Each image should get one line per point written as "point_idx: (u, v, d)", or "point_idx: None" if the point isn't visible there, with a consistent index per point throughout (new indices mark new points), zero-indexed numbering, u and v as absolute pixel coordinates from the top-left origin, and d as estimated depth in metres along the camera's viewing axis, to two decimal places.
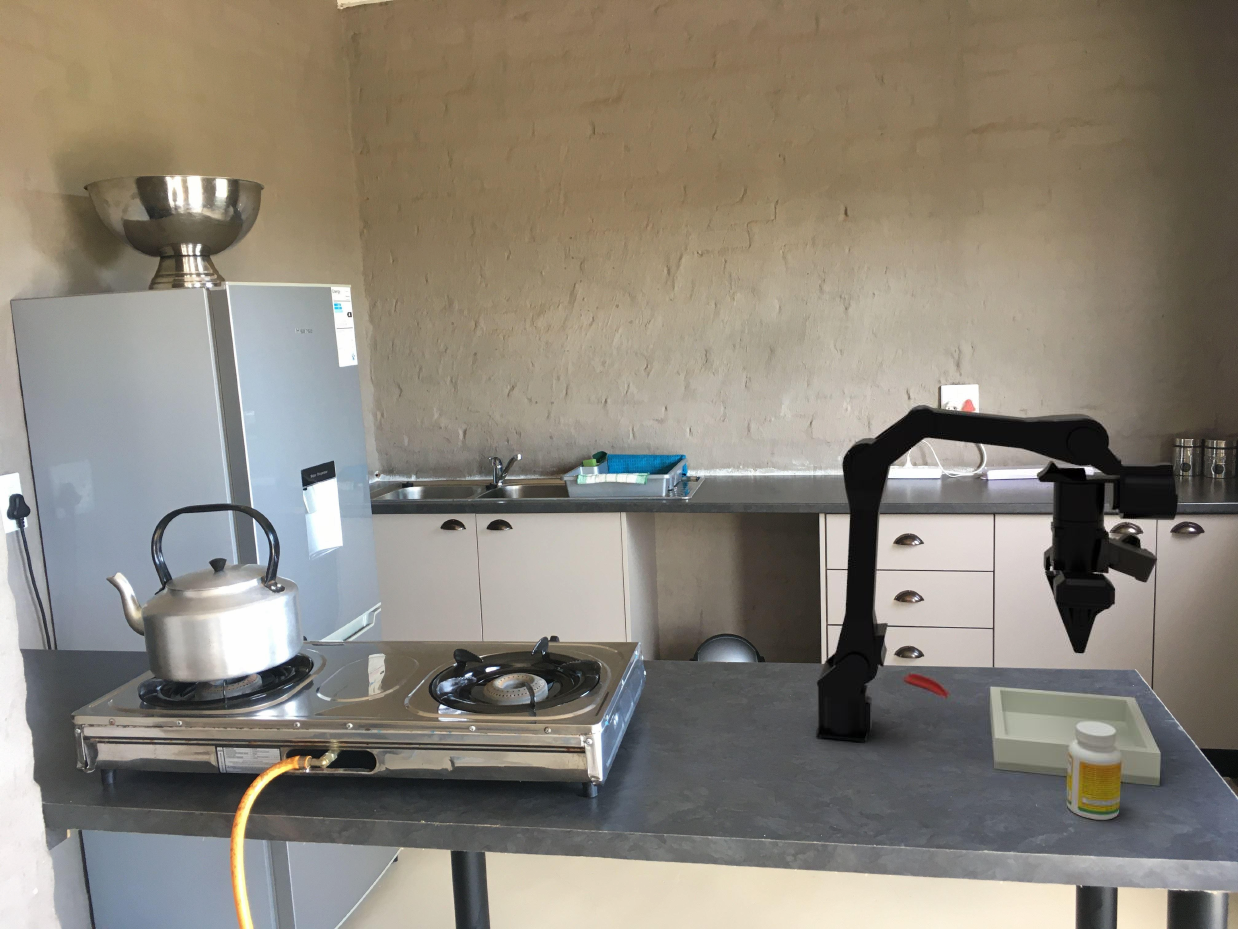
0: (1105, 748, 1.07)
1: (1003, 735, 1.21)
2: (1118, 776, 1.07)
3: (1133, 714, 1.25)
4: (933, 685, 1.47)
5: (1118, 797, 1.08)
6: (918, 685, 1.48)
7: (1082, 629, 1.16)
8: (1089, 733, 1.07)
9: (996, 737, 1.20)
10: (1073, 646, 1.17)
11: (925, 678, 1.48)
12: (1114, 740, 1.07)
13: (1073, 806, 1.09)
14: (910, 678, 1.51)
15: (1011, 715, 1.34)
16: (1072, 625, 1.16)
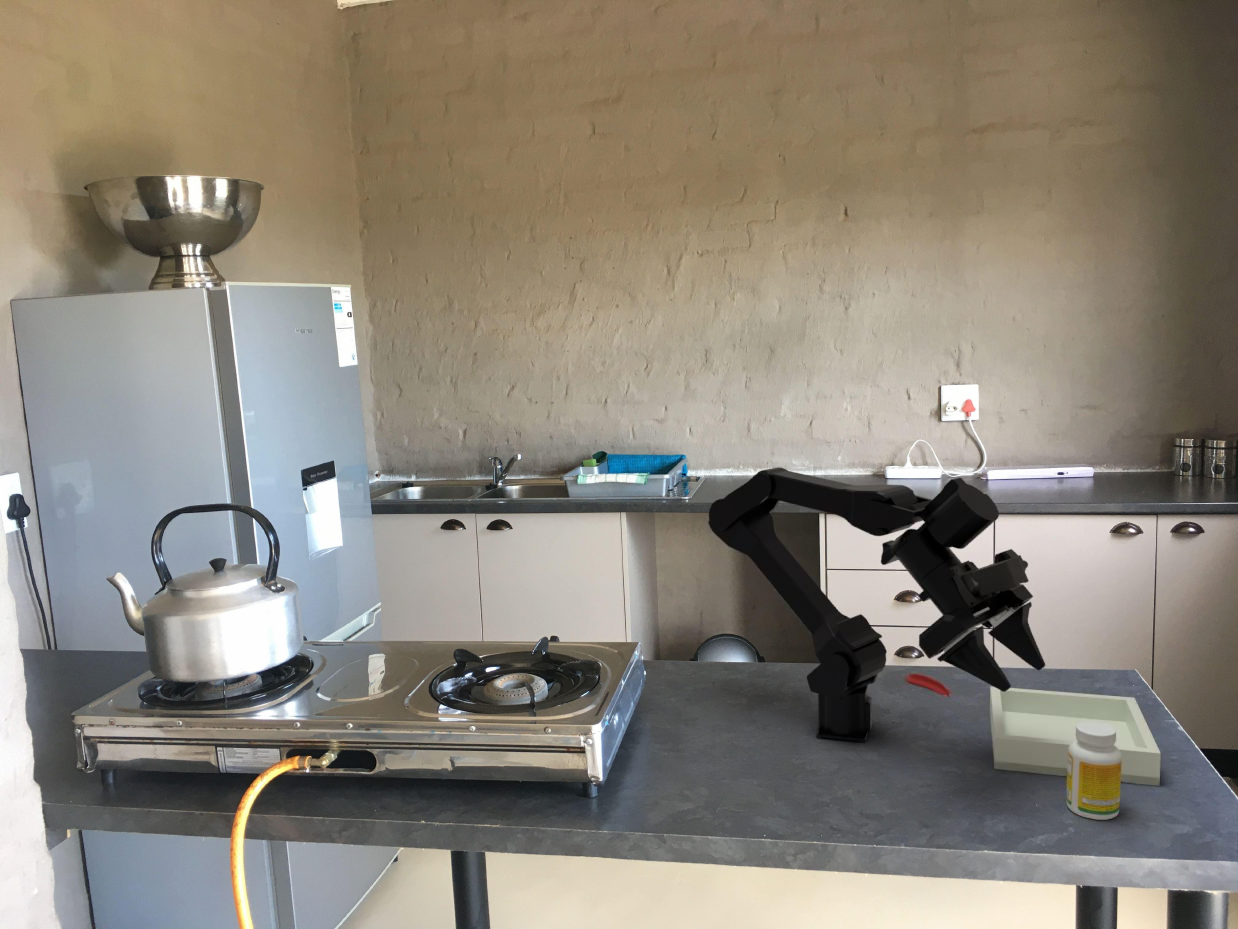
0: (1105, 748, 1.07)
1: (1003, 735, 1.21)
2: (1118, 776, 1.07)
3: (1133, 714, 1.25)
4: (935, 685, 1.47)
5: (1118, 797, 1.08)
6: (920, 685, 1.49)
7: (985, 666, 1.11)
8: (1089, 733, 1.07)
9: (996, 737, 1.20)
10: (996, 687, 1.11)
11: (927, 678, 1.49)
12: (1114, 740, 1.07)
13: (1073, 806, 1.09)
14: (911, 678, 1.51)
15: (1011, 715, 1.34)
16: (975, 669, 1.12)
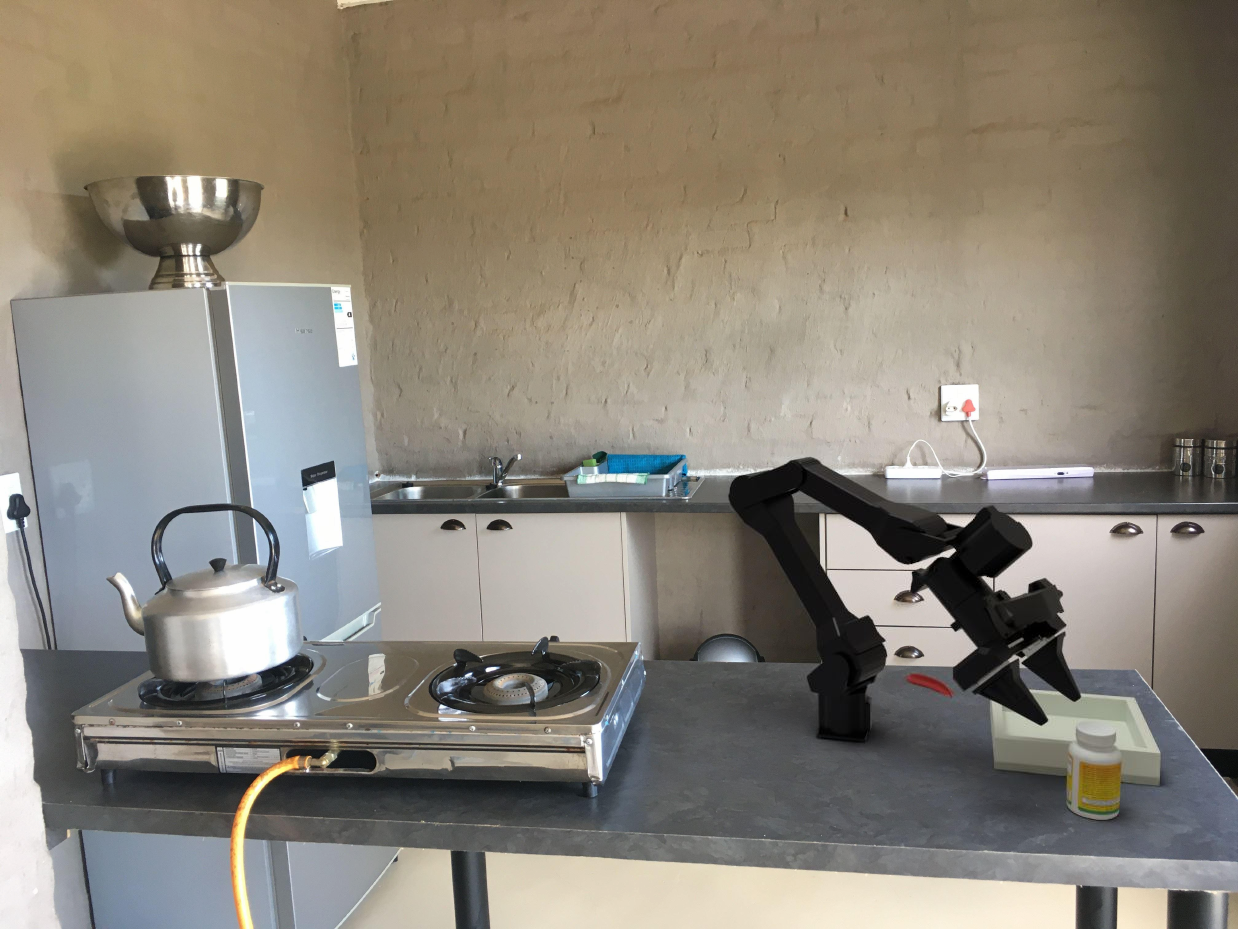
0: (1105, 748, 1.07)
1: (1003, 735, 1.21)
2: (1118, 776, 1.07)
3: (1133, 714, 1.25)
4: (937, 684, 1.47)
5: (1118, 797, 1.08)
6: (921, 685, 1.49)
7: (1021, 700, 1.08)
8: (1089, 733, 1.07)
9: (996, 737, 1.20)
10: (1033, 721, 1.08)
11: (928, 677, 1.49)
12: (1114, 740, 1.07)
13: (1073, 806, 1.09)
14: (912, 678, 1.51)
15: (1011, 715, 1.34)
16: (1010, 702, 1.09)
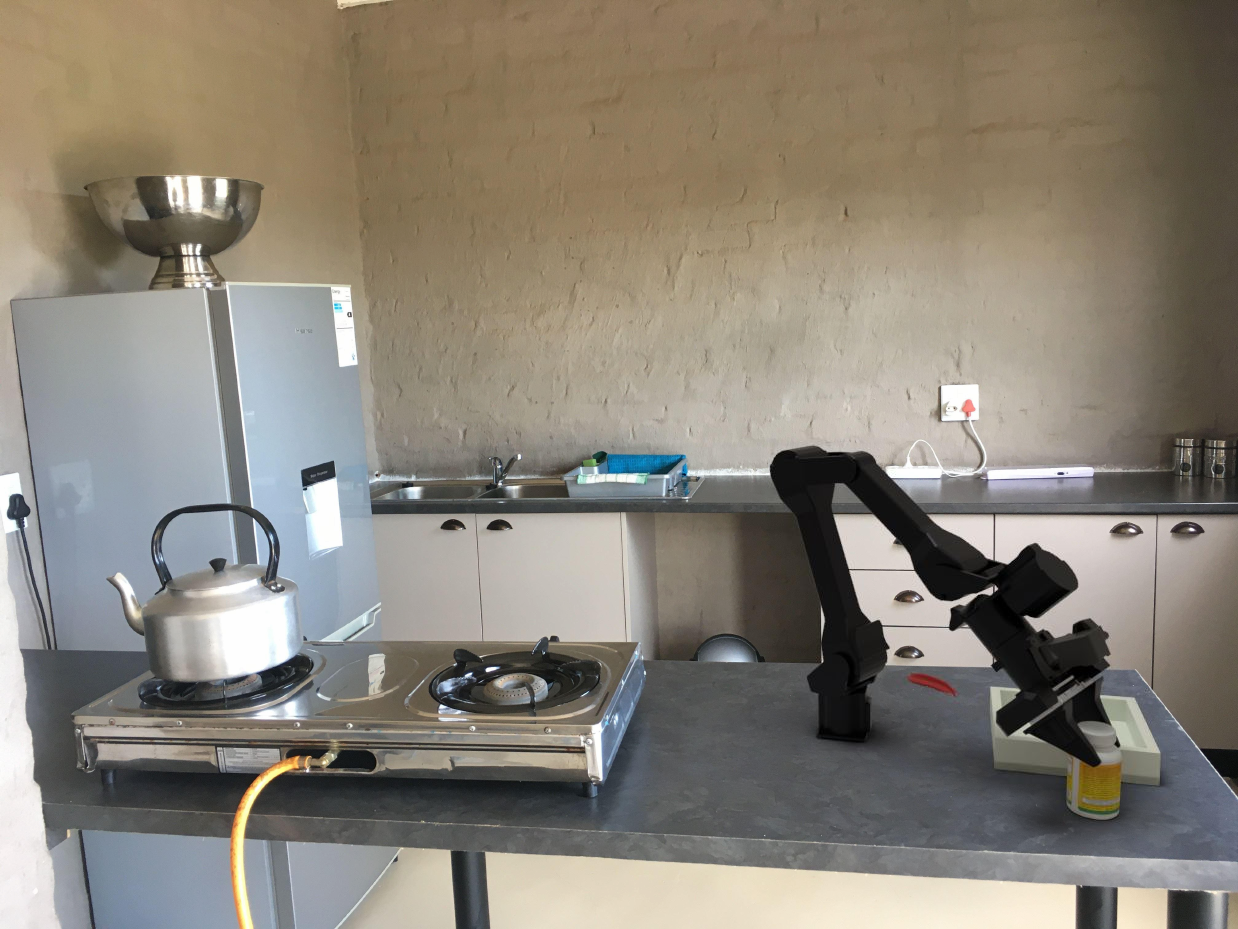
0: (1105, 748, 1.07)
1: (1003, 735, 1.21)
2: (1118, 776, 1.07)
3: (1133, 714, 1.25)
4: (939, 684, 1.48)
5: (1118, 797, 1.08)
6: (924, 684, 1.49)
7: (1074, 741, 1.06)
8: (1089, 733, 1.07)
9: (996, 737, 1.20)
10: (1085, 762, 1.06)
11: (931, 677, 1.49)
12: (1114, 740, 1.07)
13: (1073, 805, 1.09)
14: (914, 678, 1.51)
15: None
16: (1062, 743, 1.07)
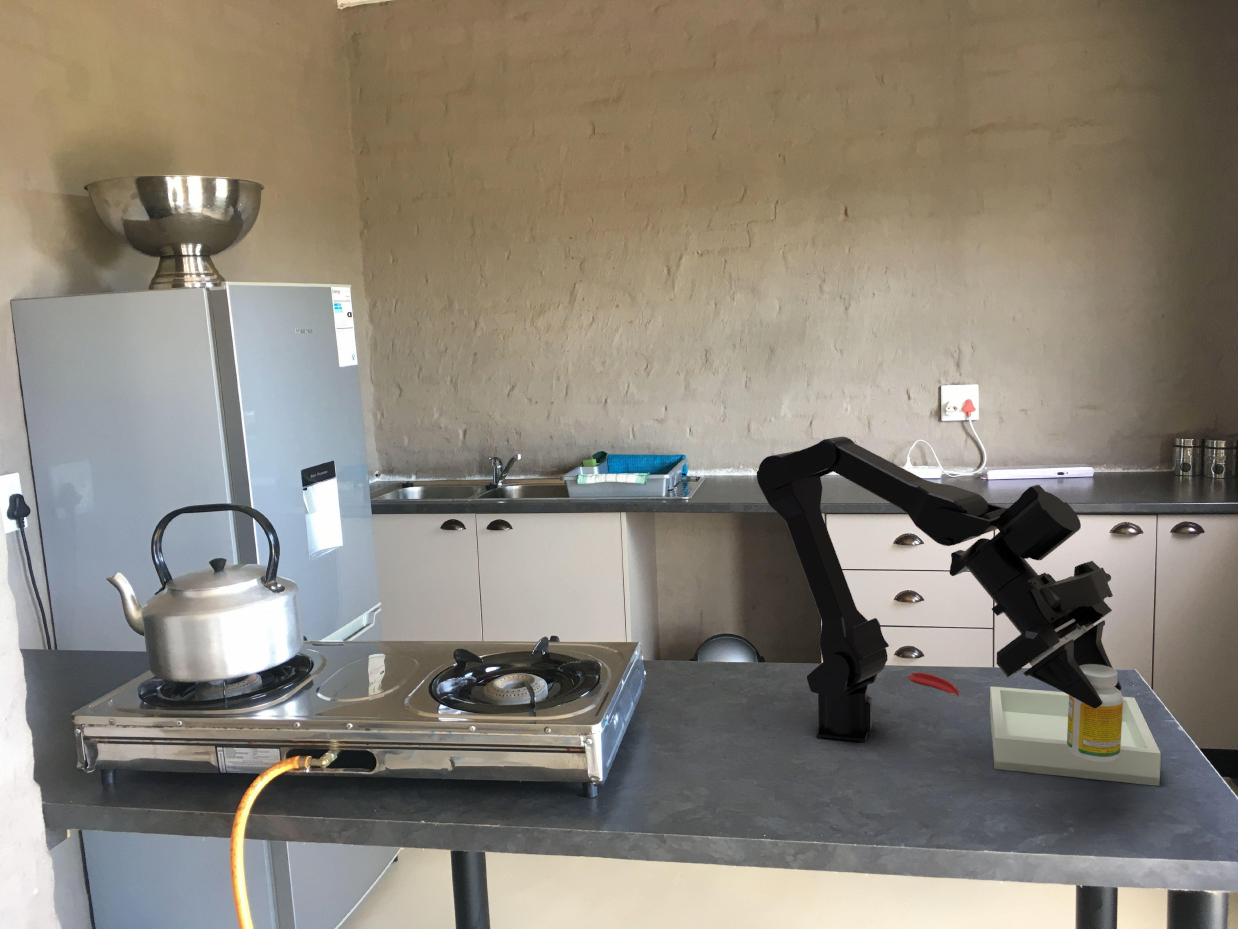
0: (1106, 690, 1.06)
1: (1003, 735, 1.21)
2: (1119, 718, 1.06)
3: (1133, 714, 1.25)
4: (942, 683, 1.48)
5: (1119, 739, 1.07)
6: (926, 684, 1.49)
7: (1075, 682, 1.06)
8: (1090, 675, 1.06)
9: (996, 737, 1.20)
10: (1086, 703, 1.06)
11: (933, 676, 1.49)
12: (1116, 682, 1.06)
13: (1074, 748, 1.08)
14: (916, 677, 1.51)
15: (1011, 715, 1.34)
16: (1063, 684, 1.06)
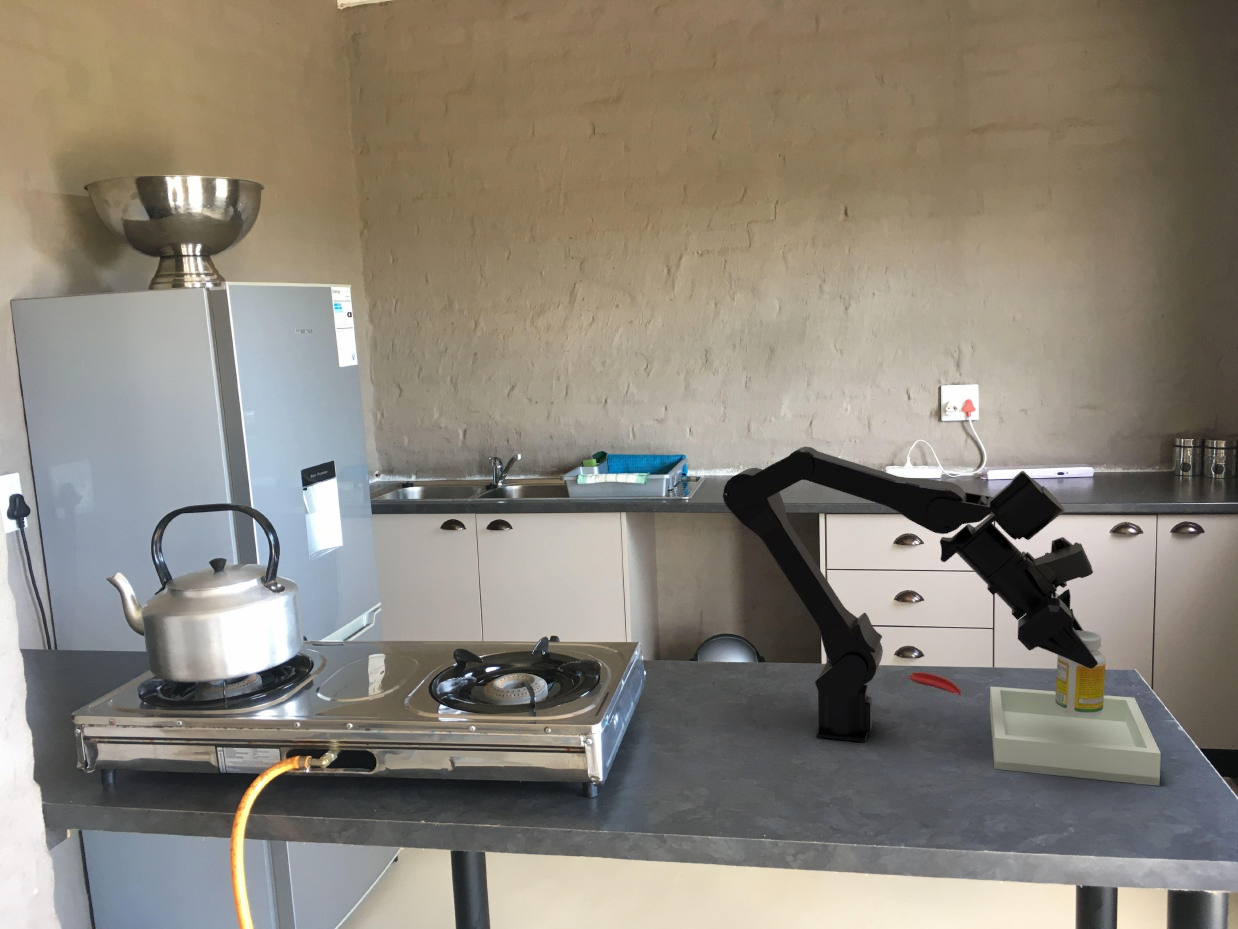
0: (1095, 651, 1.19)
1: (1003, 735, 1.21)
2: (1104, 675, 1.19)
3: (1133, 714, 1.25)
4: (943, 683, 1.48)
5: None
6: (928, 683, 1.49)
7: (1076, 647, 1.17)
8: (1083, 639, 1.18)
9: (996, 737, 1.20)
10: (1084, 665, 1.17)
11: (934, 676, 1.49)
12: (1100, 643, 1.19)
13: (1069, 708, 1.19)
14: (917, 677, 1.51)
15: (1011, 715, 1.34)
16: (1065, 650, 1.17)
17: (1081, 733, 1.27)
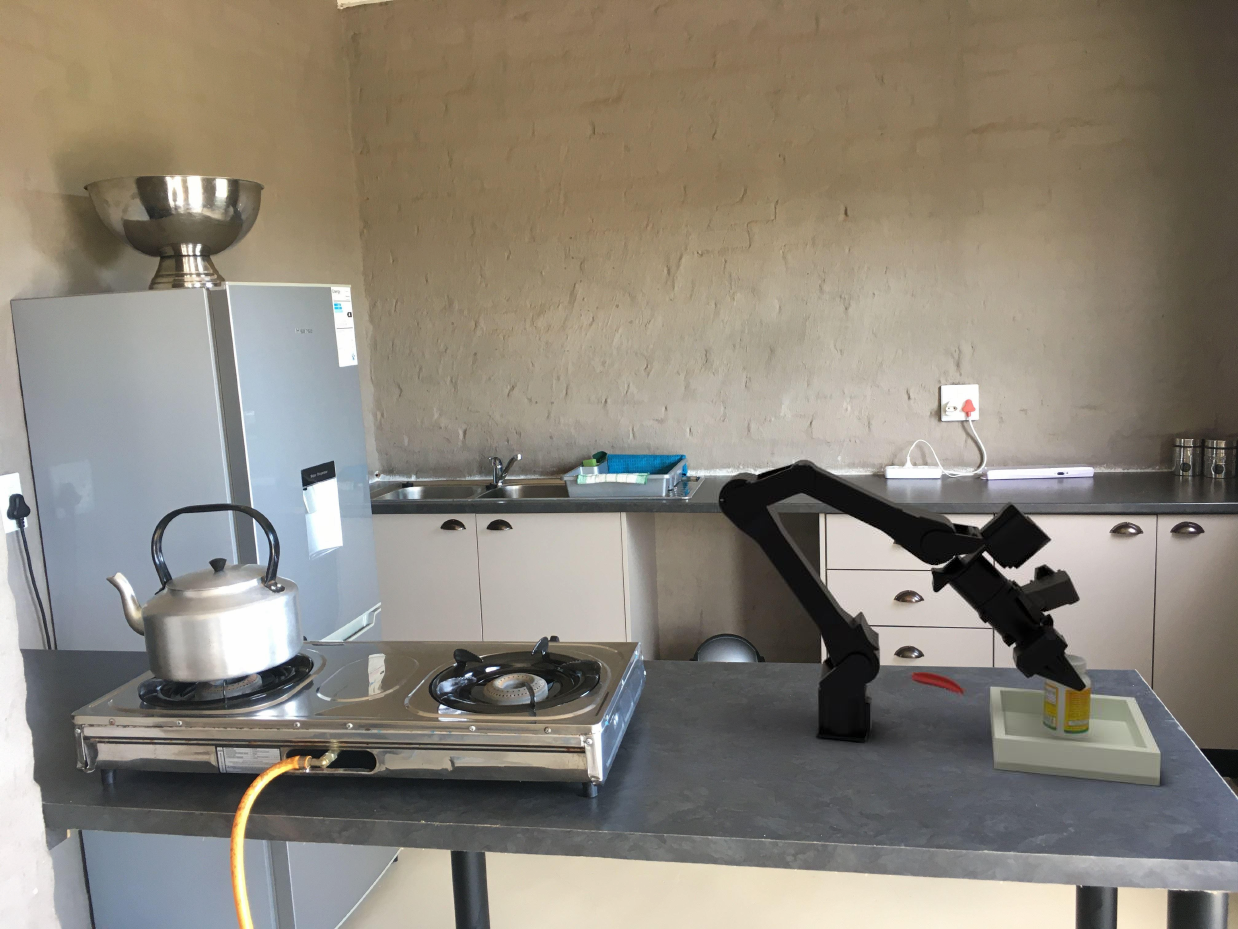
0: (1081, 674, 1.23)
1: (1003, 735, 1.21)
2: None
3: (1133, 714, 1.25)
4: (945, 682, 1.48)
5: None
6: (930, 683, 1.49)
7: (1066, 671, 1.21)
8: (1071, 664, 1.23)
9: (996, 737, 1.20)
10: (1074, 688, 1.22)
11: (936, 676, 1.49)
12: None
13: (1059, 730, 1.24)
14: (918, 677, 1.51)
15: (1011, 715, 1.34)
16: (1056, 675, 1.21)
17: None
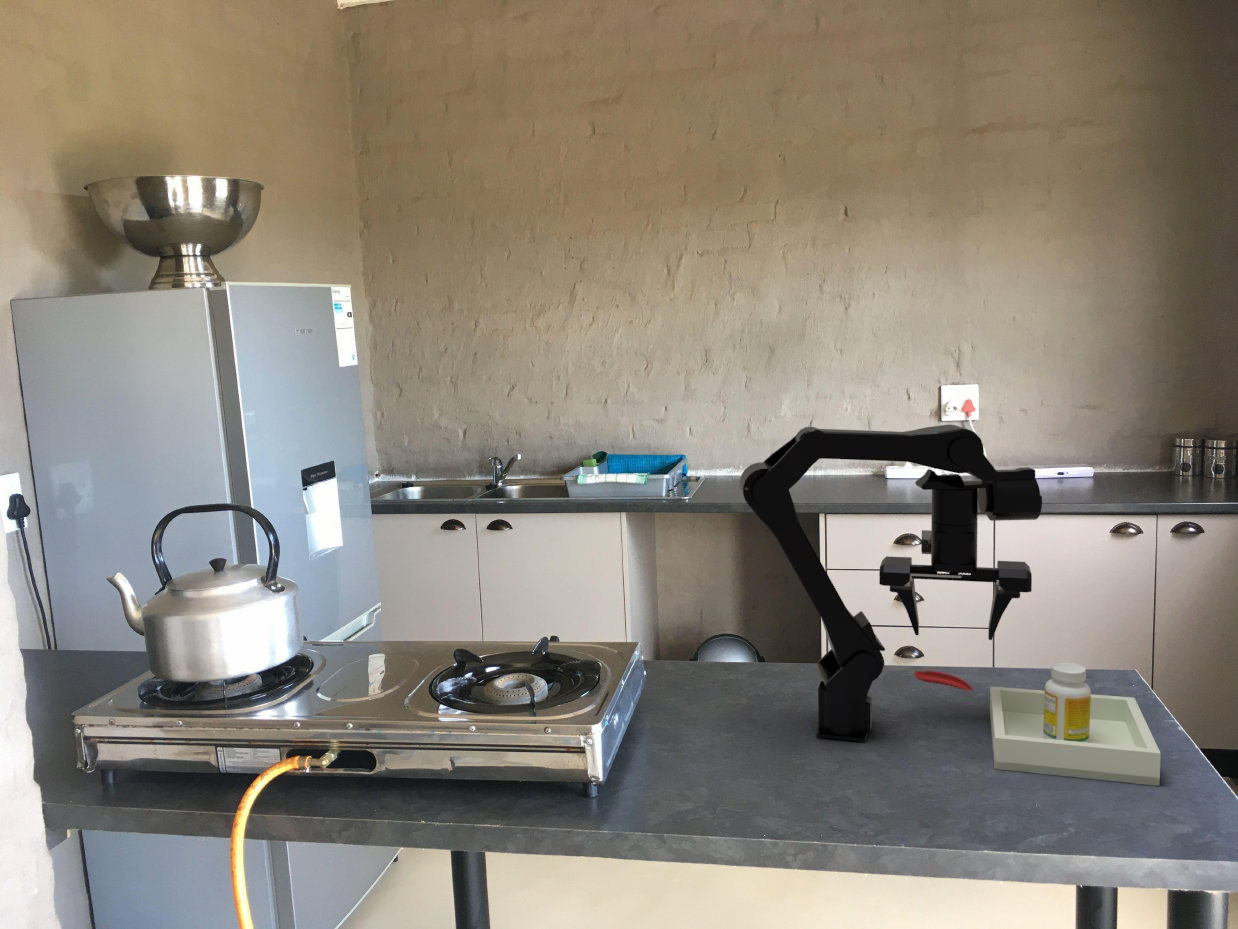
0: (1081, 683, 1.23)
1: (1003, 735, 1.21)
2: None
3: (1133, 714, 1.25)
4: (952, 680, 1.49)
5: None
6: (936, 682, 1.50)
7: None
8: (1071, 673, 1.23)
9: (996, 737, 1.20)
10: (993, 634, 1.28)
11: (942, 674, 1.50)
12: None
13: (1059, 739, 1.24)
14: (923, 675, 1.52)
15: (1011, 715, 1.34)
16: None
17: None
